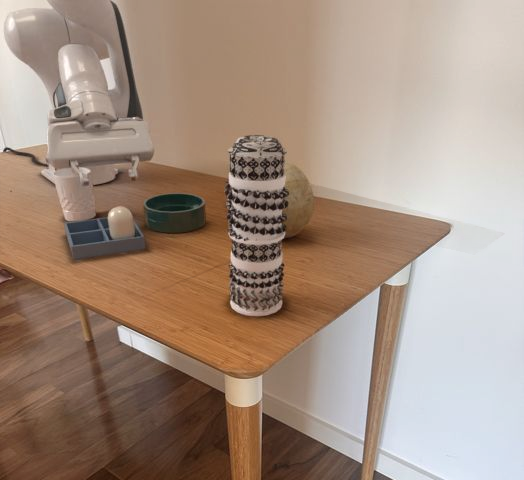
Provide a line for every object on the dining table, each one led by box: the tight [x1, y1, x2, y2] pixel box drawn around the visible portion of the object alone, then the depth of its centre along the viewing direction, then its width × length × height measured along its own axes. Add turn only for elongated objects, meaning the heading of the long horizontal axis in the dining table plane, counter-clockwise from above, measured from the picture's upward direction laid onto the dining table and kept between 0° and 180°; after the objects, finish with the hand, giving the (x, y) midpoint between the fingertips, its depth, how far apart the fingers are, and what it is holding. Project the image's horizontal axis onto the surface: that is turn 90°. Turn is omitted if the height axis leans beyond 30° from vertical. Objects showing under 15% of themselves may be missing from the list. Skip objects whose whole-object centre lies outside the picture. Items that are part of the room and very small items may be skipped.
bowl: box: [143, 192, 207, 234], centre depth 108 cm, size 13×13×5 cm
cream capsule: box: [107, 205, 135, 240], centre depth 97 cm, size 5×5×8 cm
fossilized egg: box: [282, 161, 315, 239], centre depth 101 cm, size 13×13×15 cm
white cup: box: [53, 167, 97, 222], centre depth 110 cm, size 8×8×10 cm
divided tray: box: [63, 216, 147, 261], centre depth 100 cm, size 14×14×3 cm
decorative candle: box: [223, 134, 289, 317], centre depth 74 cm, size 9×9×25 cm
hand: (110, 181), depth 98 cm, fingers open, 8 cm apart
